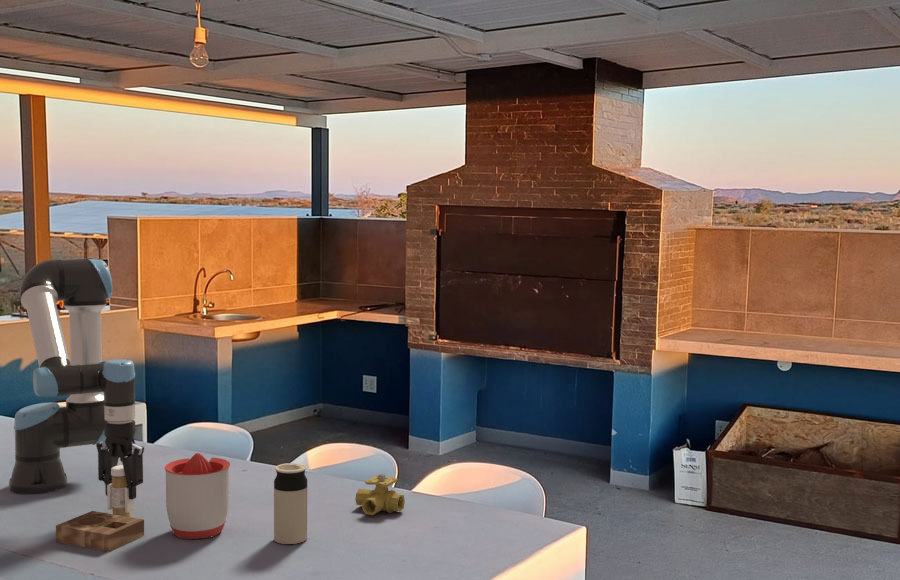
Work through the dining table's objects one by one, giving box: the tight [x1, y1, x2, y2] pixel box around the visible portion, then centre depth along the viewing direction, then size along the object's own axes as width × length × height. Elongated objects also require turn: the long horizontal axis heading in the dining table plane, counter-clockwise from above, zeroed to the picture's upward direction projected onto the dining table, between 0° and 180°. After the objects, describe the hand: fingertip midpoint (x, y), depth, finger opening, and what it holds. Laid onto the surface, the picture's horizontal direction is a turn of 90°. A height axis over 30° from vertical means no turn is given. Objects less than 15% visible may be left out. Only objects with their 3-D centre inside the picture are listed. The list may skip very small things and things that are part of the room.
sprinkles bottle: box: [111, 464, 132, 517], centre depth 240 cm, size 5×5×14 cm
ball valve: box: [354, 473, 406, 516], centre depth 248 cm, size 13×10×10 cm
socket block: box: [55, 510, 145, 553], centre depth 225 cm, size 16×12×4 cm
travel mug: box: [273, 462, 308, 545], centre depth 225 cm, size 8×8×18 cm
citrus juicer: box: [164, 452, 231, 540], centre depth 230 cm, size 16×17×20 cm
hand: (121, 509), depth 240 cm, fingers open, 5 cm apart
